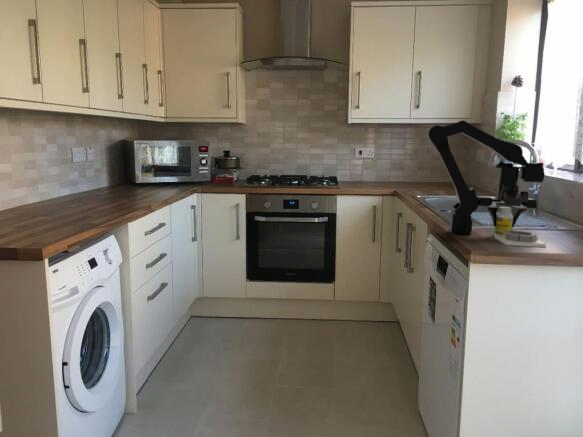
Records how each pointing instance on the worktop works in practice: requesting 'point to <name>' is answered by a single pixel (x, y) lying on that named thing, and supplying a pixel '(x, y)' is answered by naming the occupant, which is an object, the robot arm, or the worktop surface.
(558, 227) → the worktop surface
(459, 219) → the robot arm
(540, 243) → the socket base
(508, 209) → the supplement bottle
